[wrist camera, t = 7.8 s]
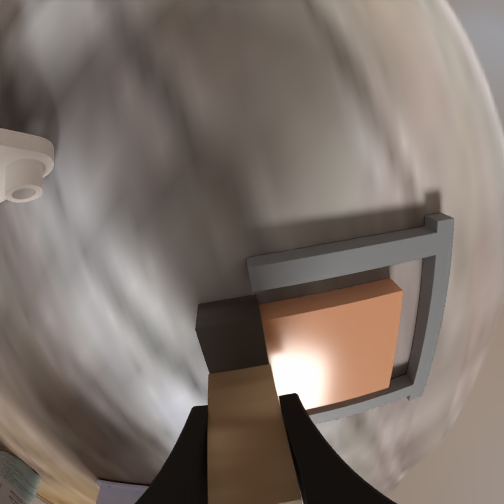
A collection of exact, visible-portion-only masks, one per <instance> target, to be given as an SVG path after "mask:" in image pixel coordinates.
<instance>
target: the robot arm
mask: <svg viewBox="0 0 504 504" xmlns="http://www.w3.org/2000/svg"><path fill="white" fill-rule="evenodd" d="M279 402H280V408H281V412H282V417H283V421H284V425H285V429H286V434H287V438H288V442H289V447H290V451H291V455H292V459H293V464H294V468H295V472H296V477H297V481H298V485H299V489H300V492H301V496H302V500H303V504H397V503H395V502H393V501H392V500H390V499H389V498H387V497H386V496H384V495H383V494H382V493H380V492H379V491H378V490H376V489H375V488H374V487H372V486H371V485H370V484H368V483H367V482H366V481H365V480H363V479H362V478H361V477H360V476H359V475H358V474H357V473H356V472H354V471H353V470H352V469H351V468H350V467H349V466H348V465H347V464H346V463H345V462H344V461H343V460H342V459H341V457H340V456H339V455H338V454H337V453H336V452H335V451H334V450H333V448H332V447H331V446H330V445H329V444H328V442H327V441H326V440H325V438H324V437H323V436H322V434H321V433H320V432H319V430H318V429H317V427H316V426H315V425H314V423H313V422H312V420H311V418H310V417H309V415H308V413H307V412H306V410H305V408H304V406H303V404H302V402H301V400H300V398H299V395H298V394H297V393H291V394H285V395H280V396H279ZM207 436H208V405H205V406H194V407H193V408H192V409H191V412H190V414H189V416H188V419H187V421H186V423H185V426H184V428H183V430H182V432H181V434H180V436H179V438H178V440H177V442H176V444H175V446H174V448H173V450H172V452H171V453H170V455H169V457H168V459H167V460H166V462H165V463H164V465H163V467H162V468H161V470H160V472H159V473H158V475H157V476H156V477H155V479H154V480H153V482H152V483H151V484H150V486H142V485H132V484H124V483H117V482H110V481H104V480H97V482H96V483H97V485H99V486H100V490H99V494H98V498H97V502H96V504H208V464H207Z"/></svg>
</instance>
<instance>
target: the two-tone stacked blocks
mask: <svg viewBox="0 0 504 504" xmlns="http://www.w3.org/2000/svg"><path fill="white" fill-rule="evenodd" d="M195 330H196V333H197V336H198V339H199V343H200V346H201V349H202V352H203V355H204V358H205V361H206V364H207V367H208V370H209V373H210V374H209V377H208V436H207V464H208V504H302V498H301V493H300V489H299V485H298V481H297V477H296V472H295V468H294V464H293V459H292V455H291V451H290V447H289V442H288V438H287V434H286V429H285V425H284V421H283V417H282V412H281V408H280V403H279V399H278V395H277V390H276V386H275V382H274V377H273V373H272V368H271V364H269V360H268V354H267V348H266V342H265V337H264V331H263V325H262V319H261V314H260V310H259V306H258V301H257V297H256V295H252V296H246V297H241V298H235V299H229V300H224V301H218V302H212V303H206V304H200V305H198V312H197V320H196V328H195Z"/></svg>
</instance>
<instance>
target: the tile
mask: <svg viewBox="0 0 504 504" xmlns="http://www.w3.org/2000/svg"><path fill="white" fill-rule="evenodd" d="M402 294H403V290H402V289H401V288H400V287H399V286H398V285H397V284H396V283H395V282H394V281H392V280H391V279H390V278H388V279H383V280H379V281H375V282H370V283H366V284H361V285H357V286H352V287H347V288H343V289H338V290H333V291H328V292H323V293H318V294H313V295H308V296H303V297H298V298H292V299H287V300H281V301H276V302H270V303H264V304H259V310H260V314H261V319H262V325H263V331H264V337H265V342H266V348H267V354H268V360H269V364H271V368H272V373H273V377H274V382H275V386H276V390H277V395H278V399H279V396H280V395H285V394H291V393H297V394H298V395H299V398H300V400H301V402H302V404H303V406H304V408H305V410H307V409H312V408H316V407H321V406H325V405H329V404H333V403H337V402H341V401H345V400H349V399H352V398H356V397H359V396H363V395H366V394H370V393H373V392H376V391H379V390H382V389H385V388H389V384H390V379H391V374H392V368H393V363H394V357H395V351H396V344H397V338H398V330H399V323H400V314H401V305H402ZM279 403H280V402H279Z"/></svg>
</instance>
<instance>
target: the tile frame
mask: <svg viewBox="0 0 504 504" xmlns="http://www.w3.org/2000/svg"><path fill="white" fill-rule="evenodd" d="M453 231H454V218H452V217H450V216H447V215H445V214H443V213H437V214H430V215H425V226H423V227H418V228H412V229H407V230H401V231H396V232H390V233H384V234H379V235H373V236H368V237H362V238H356V239H351V240H345V241H339V242H334V243H328V244H322V245H317V246H311V247H305V248H300V249H294V250H288V251H283V252H277V253H271V254H265V255H260V256H254V257H248V258H246V261H247V269H248V274H249V280H250V285H251V291H252V292H258V291H264V290H270V289H275V288H281V287H286V286H292V285H297V284H302V283H308V282H313V281H318V280H323V279H328V278H333V277H338V276H343V275H348V274H353V273H358V272H362V271H367V270H372V269H376V268H381V267H386V266H390V265H395V264H399V263H403V262H408V261H412V260H416V259H421V258H423V269H422V281H421V290H420V299H419V307H418V314H417V321H416V327H415V333H414V339H413V345H412V350H411V355H410V360H409V365H408V369H407V374H405V375H402V376H399V377H396V378H393V379H390V384H389V388H385V389H382V390H379V391H376V392H373V393H370V394H366V395H363V396H359V397H356V398H352V399H349V400H345V401H341V402H337V403H333V404H329V405H325V406H321V407H316V408H312V409H307V410H306V412H307V413H308V415H309V417H310V418H311V420H312V422H313V423H314V424H318V423H323V422H327V421H331V420H335V419H339V418H343V417H346V416H350V415H354V414H357V413H360V412H364V411H367V410H370V409H374V408H377V407H380V406H383V405H386V404H389V403H392V402H394V401H397V400H400V399H403V398H405V397H407V398H408V400H412V399H415V398H417V397H420V396H422V395H423V392H424V389H425V386H426V382H427V379H428V376H429V372H430V369H431V365H432V361H433V358H434V354H435V350H436V346H437V342H438V337H439V333H440V328H441V323H442V318H443V313H444V308H445V302H446V296H447V289H448V282H449V275H450V266H451V257H452V246H453Z"/></svg>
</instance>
